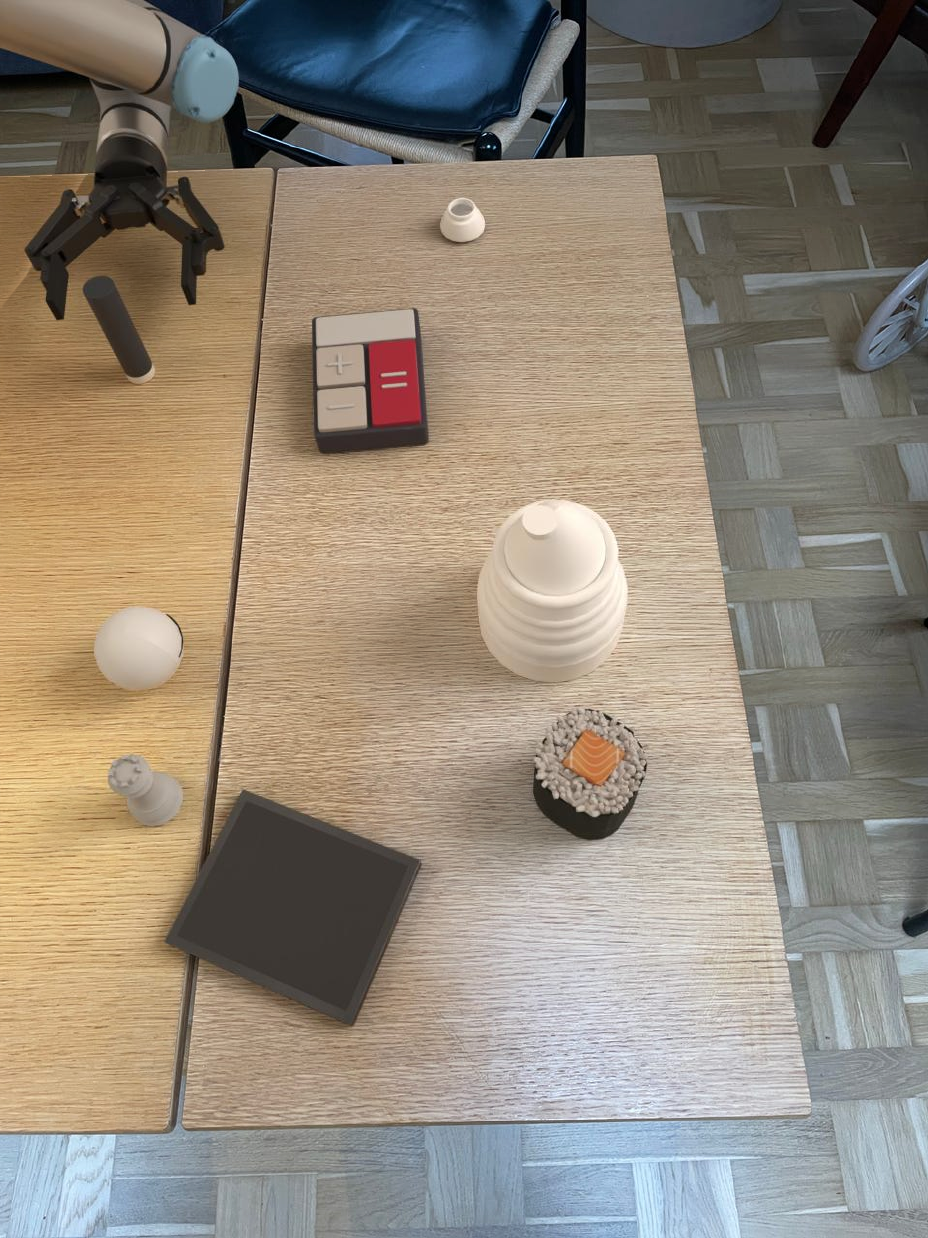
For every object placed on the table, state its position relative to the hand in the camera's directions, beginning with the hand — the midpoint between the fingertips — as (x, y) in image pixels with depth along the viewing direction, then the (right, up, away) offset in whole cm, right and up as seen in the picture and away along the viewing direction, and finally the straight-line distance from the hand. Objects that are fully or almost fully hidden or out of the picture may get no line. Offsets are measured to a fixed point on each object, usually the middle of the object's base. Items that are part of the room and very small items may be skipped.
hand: (121, 302), depth 99 cm
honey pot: (+42, -32, -11) cm, 54 cm away
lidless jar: (+35, +12, +12) cm, 38 cm away
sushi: (+45, -46, -19) cm, 67 cm away
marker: (+1, -6, +4) cm, 7 cm away
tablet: (+21, -54, -22) cm, 63 cm away
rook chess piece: (+9, -47, -17) cm, 51 cm away
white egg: (+7, -35, -11) cm, 37 cm away
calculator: (+25, -9, +2) cm, 27 cm away
